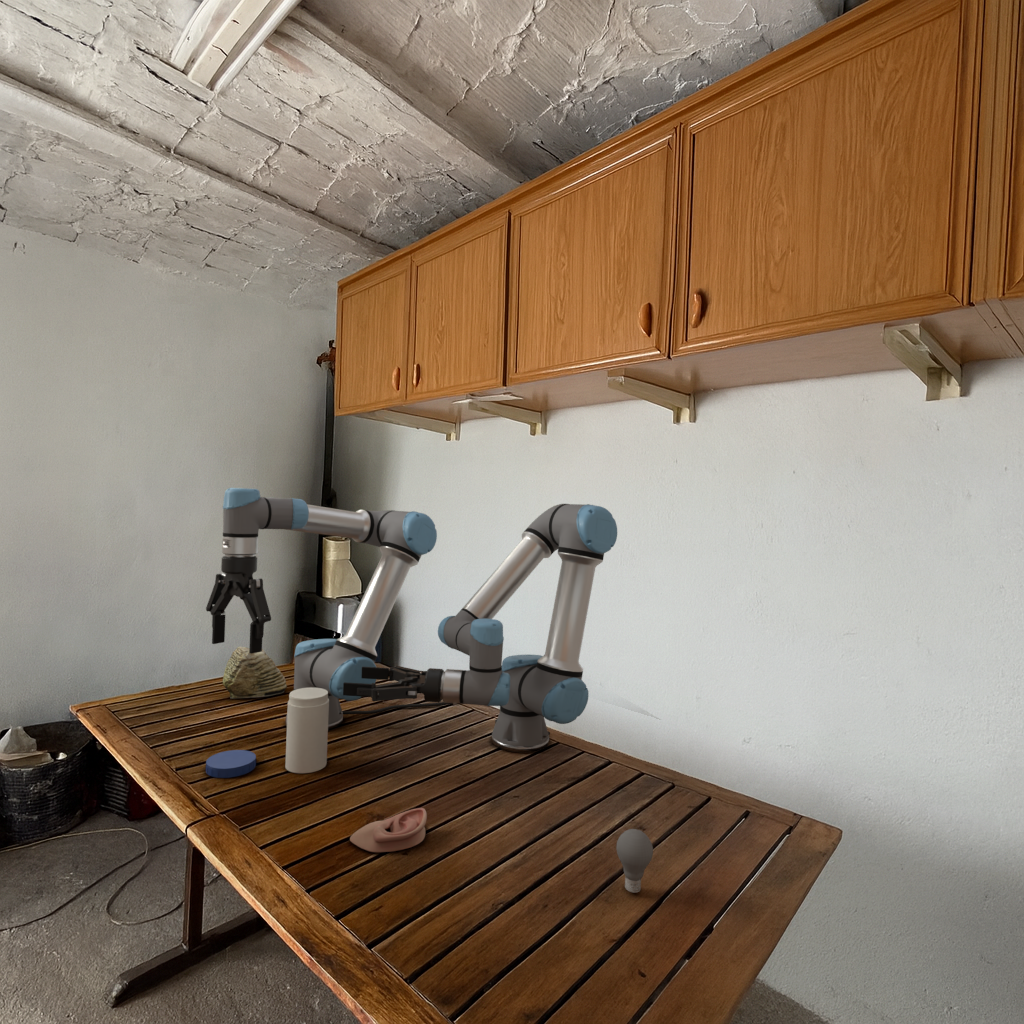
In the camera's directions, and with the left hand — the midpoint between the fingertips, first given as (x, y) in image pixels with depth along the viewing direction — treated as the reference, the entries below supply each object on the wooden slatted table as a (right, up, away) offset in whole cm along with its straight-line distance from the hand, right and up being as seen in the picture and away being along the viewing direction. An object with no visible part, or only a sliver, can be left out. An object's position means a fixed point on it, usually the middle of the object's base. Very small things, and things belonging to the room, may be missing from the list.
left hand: (236, 647), depth 145 cm
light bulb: (+83, -32, -40) cm, 98 cm away
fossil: (-17, -26, +53) cm, 61 cm away
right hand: (+26, -8, +3) cm, 28 cm away
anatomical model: (+40, -30, -26) cm, 57 cm away
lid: (-1, -26, 0) cm, 26 cm away
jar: (+15, -28, +4) cm, 32 cm away
